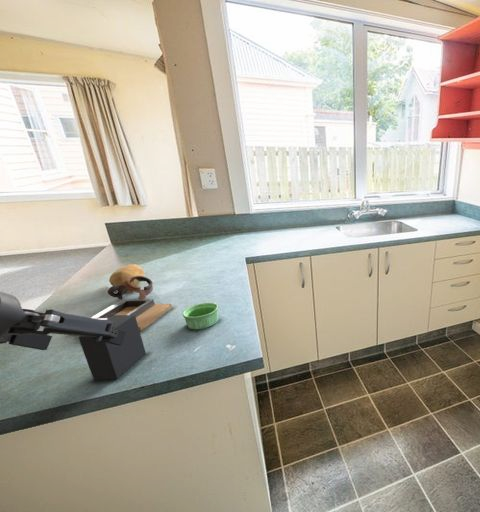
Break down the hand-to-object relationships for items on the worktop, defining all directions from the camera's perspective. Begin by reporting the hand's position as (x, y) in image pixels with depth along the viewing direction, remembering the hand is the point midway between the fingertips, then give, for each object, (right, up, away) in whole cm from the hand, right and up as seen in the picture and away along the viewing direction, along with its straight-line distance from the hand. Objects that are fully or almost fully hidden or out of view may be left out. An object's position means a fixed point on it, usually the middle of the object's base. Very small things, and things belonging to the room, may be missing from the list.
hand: (85, 340), depth 60 cm
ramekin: (+7, -3, +28) cm, 29 cm away
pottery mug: (-27, +2, +43) cm, 51 cm away
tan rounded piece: (-36, +5, +52) cm, 63 cm away
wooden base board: (-17, -2, +29) cm, 34 cm away
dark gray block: (-1, -9, +9) cm, 13 cm away
